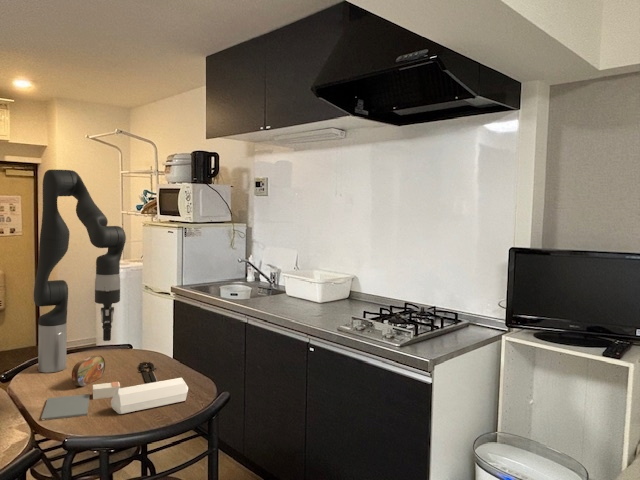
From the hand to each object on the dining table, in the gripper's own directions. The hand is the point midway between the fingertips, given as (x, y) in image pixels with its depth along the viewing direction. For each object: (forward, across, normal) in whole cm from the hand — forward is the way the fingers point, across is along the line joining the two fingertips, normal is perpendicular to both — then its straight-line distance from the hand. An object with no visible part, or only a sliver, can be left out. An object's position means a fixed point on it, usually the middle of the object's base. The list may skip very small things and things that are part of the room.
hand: (107, 337), depth 161 cm
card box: (+20, 0, 0) cm, 20 cm away
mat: (+19, +7, -11) cm, 23 cm away
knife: (+20, -18, +14) cm, 30 cm away
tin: (+20, -15, -6) cm, 25 cm away
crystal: (+20, +12, +13) cm, 27 cm away
